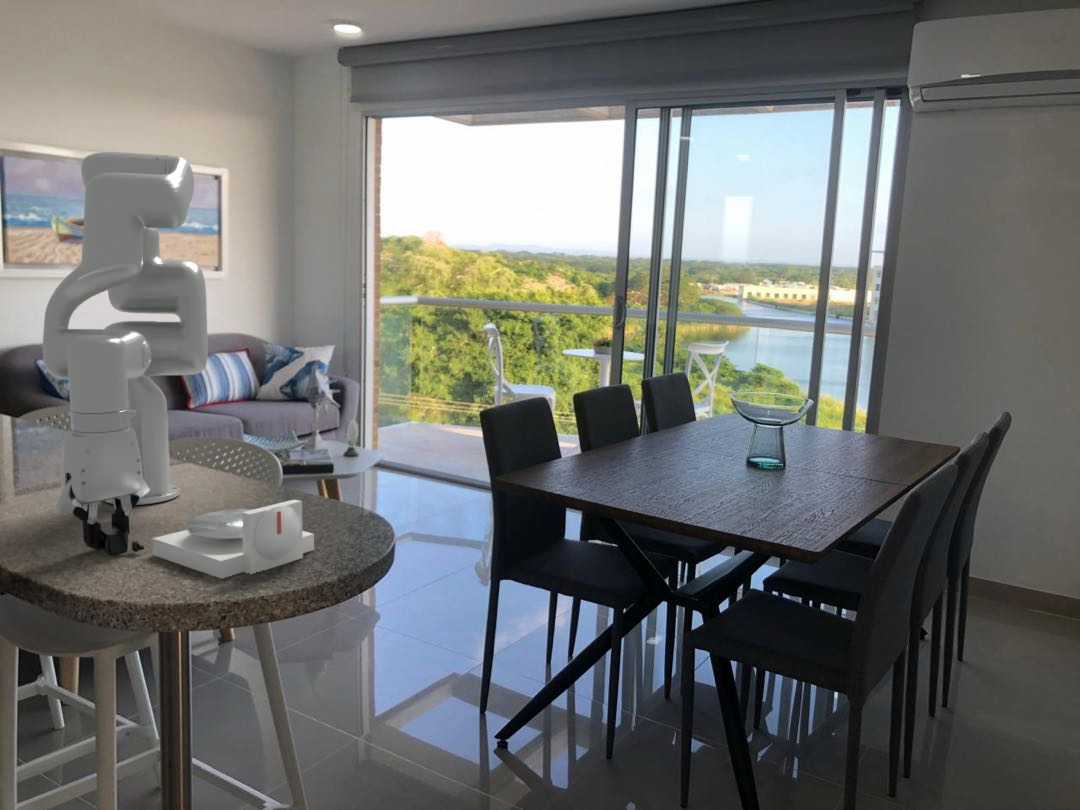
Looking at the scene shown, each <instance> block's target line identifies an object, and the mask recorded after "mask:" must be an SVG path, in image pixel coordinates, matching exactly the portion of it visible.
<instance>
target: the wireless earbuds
mask: <svg viewBox="0 0 1080 810" xmlns="http://www.w3.org/2000/svg"><path fill="white" fill-rule="evenodd" d="M100 524H101V543H102V548H101V549H100V550H101V551H103V552H105V553H106V554H107V555H108V556H118V555H119V556H120V555H123V554H126V553H127V552H128V551H129V545H128V543H129V536H128V537H127V531H126V530H125V529H123V528H122V527H120V526H119V525H117V524H116V523H114V522H112V521H110V522H109V521H108V522H103V523H101V522H100ZM131 550H132V552H135V553H137V552H139V551H142V550H145V547H144V545H143V544H141V542H140V541H139V540H133V541H132V543H131Z"/></svg>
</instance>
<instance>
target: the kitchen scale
mask: <svg viewBox="0 0 1080 810" xmlns="http://www.w3.org/2000/svg"><path fill="white" fill-rule="evenodd" d="M185 528H186V529H185V530H181V531H177V532H172V533H170V534H169V533H168V534H164V535H162V536H157V537H153V538H152V551H153V553H152V555H153V556H155V557H158V558H161V559H163V560H167V561H170V562H172V563H175V564H178V565H180V566H182V567H183V566H184V567H187V568H190V569H192V570H195V571H197V572H201V573H203V572H204V574H206V573H207V574H206V575H209V576H211V577H215V576H216V577H215V578H217V577H218V579H220V578H221V580H223V579H226V578H229V576H230V577H233V576H235V574H236V575H239V574H241V572H242V573H245V572H246V573H245V574H248V573H249V574H248V575H254V574H256V572H258V573H260V571H261V572H263V570H264V571H267V570H269V569H273V568H277V567H279V566H283V565H286V564H289V563H291V562H296V561H298V560H301V559H303V558H304V554H307V553H309V552H312V551H315V534H314V533H312V532H308V531H306V530H305V531H304V530H303V501H302V500H298V499H291V500H286V501H282V502H278V503H275V504H274V503H273V504H270V505H267V506H262V507H258V508H255V509H253V508H237V509H223V510H217V511H210V512H207V513H203V514H200V515H197V516H195V517H192V518H190V519H189V520H188V521H187V522H186V527H185ZM238 573H239V574H238ZM253 573H254V574H253ZM232 575H233V576H232ZM225 577H226V578H225ZM222 578H223V579H222Z"/></svg>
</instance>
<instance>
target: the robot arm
mask: <svg viewBox="0 0 1080 810" xmlns="http://www.w3.org/2000/svg"><path fill="white" fill-rule="evenodd" d="M80 167H81V169H80V170H81V171H80V172H81V179H82V182H83V185H84V187H85V191H84V193H85V194H84V206H83V207H84V209H83V228H82V244H81V245H82V246H81V261H80V264H79V265H78V266H77V267H75V269H73V270H72V271H71V272H70V273H69V274H68V275H67V276H66V277H65V278H64V279H62V281H61V282H60V283H59V284H58V286H57V287H56V288H55V290H54V291H53V293H52V295H51V296H50V298H49V300H48V303H47V306H46V308H45V311H44V319H43V320H44V321H43V333H42V360H43V363H44V365H43V366H44V367H45V369H46V371H47V372H48V374H50V375H51V376H52V377H54V378H56V379H60V380H68V388H69V393H68V394H69V407H70V408H69V410H70V424H71V425H70V426H71V432H70V431H69V432H66V433H65V435H64V441H63V445H62V452H61V461H60V462H61V464H60V465H61V467H60V470H61V471H60V472H61V473H60V489H61V490H60V491H61V495H60V496H59V499H58V501H57V503H56V505H55V508H56V510H58V511H59V510H60V511H62V512H65V513H68V514H70V515H72V516H74V517H76V518H77V519H78V520H79V521H81V522H82V532H83V533H82V534H83V537H82V538H83V542H84V543H85V545H86V547H87V548H90V549H93V550H95V551H98V550H102V549H101V548H102V543H101V522H99V521H98V520H97V519H98V518H97V516H98V505H99V502H103V501H104V502H105V503H108V504H112V505H113V509H114V512H112V513H111V522H114V523H116V524H117V525H119V526H120V527H122V528H123V529H125V530H126V531H127V537H128V538H129V534H130V532H131V531H130V516H131V515H132V514H133V509H134V508H135V506H139V505H140V506H141V505H151V504H157V503H162V502H166V501H170V500H173V499H175V498H177V497H178V496H180V487H179V486H178V485H176V484H173V483H171V481H170V480H171V477H170V475H171V474H170V453H169V451H170V448H169V447H170V446H169V425H168V424H169V423H168V402H167V398H166V396H165V393H164V392H163V391H162V389H161V388H160V387H159V386H158V385H157V384H156V382H154V380H153V379H152V378H151V377H155V376H191V375H192V376H193V375H197V374H200V373H202V372H203V371H204V370H205V368H206V366H207V362H208V355H209V354H208V353H209V351H208V350H209V349H208V346H209V344H208V341H209V338H208V315H207V313H208V312H207V311H208V310H207V290H206V282H205V277H204V273H203V270H202V269H201V267H200V266H198V264H196V263H195V262H192V261H190V260H185V259H184V260H183V259H163V258H161V254H160V232H159V229H167V230H169V229H170V230H171V229H172V230H174V229H178V228H180V227H181V226H182V225H183V224H184V223H185V221H186V218H187V216H188V212H189V208H190V205H191V202H192V198H193V195H194V189H195V178H194V173H193V169H192V167H191V164H190V163H189V162H188V161H187V160H186V159H185V158H184V157H181V156H178V155H169V154H153V153H152V154H151V153H149V154H148V153H135V152H122V151H121V152H120V151H119V152H118V151H113V152H112V151H106V152H104V151H102V152H96V153H95V152H94V153H91V154H89V155H87V156H85V157H84V158H83V160H82V162H81V166H80ZM106 291H107V294H108V295H107V296H108V300H109V303H110V305H111V307H112V308H114V310H116V311H119V312H122V313H129V314H130V313H131V314H147V315H148V314H155V315H156V314H157V315H158V314H161V315H164V314H165V315H167V314H169V315H175V316H177V317H179V321H155V320H151V321H150V320H142V321H141V320H123V321H116V322H113V323H111V324H109V325H108V326H105V327H104V328H103V329H101V328H100V329H98V328H94V329H93V328H69V324H70V321H71V317H72V315H73V313H74V312H75V311H76V310H77V309H78V307H79V306H81V305H82V304H83V303H84V302H86V301H87V300H89V299H90V298H93V297H94V296H96V295H99V294H102V293H103V292H106ZM73 500H75V501H76V502H77V504H78V506H77V505H75V504H73ZM97 521H98V522H97Z"/></svg>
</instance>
